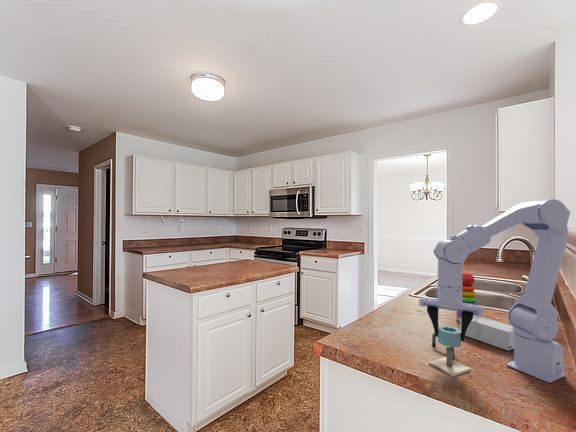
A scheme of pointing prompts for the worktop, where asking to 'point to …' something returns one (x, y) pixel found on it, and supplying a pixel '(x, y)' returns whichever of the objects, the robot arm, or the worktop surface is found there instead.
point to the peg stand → (449, 364)
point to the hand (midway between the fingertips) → (449, 337)
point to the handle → (435, 344)
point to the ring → (449, 336)
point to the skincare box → (490, 332)
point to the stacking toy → (467, 292)
